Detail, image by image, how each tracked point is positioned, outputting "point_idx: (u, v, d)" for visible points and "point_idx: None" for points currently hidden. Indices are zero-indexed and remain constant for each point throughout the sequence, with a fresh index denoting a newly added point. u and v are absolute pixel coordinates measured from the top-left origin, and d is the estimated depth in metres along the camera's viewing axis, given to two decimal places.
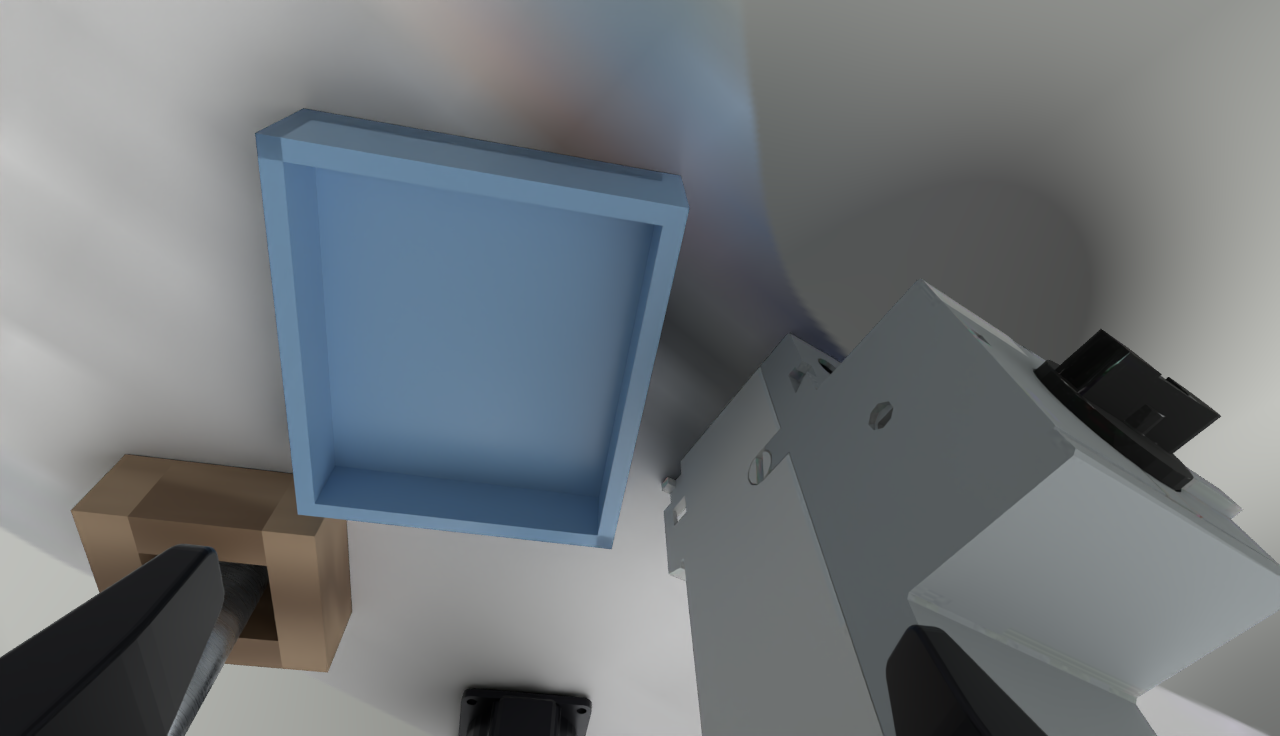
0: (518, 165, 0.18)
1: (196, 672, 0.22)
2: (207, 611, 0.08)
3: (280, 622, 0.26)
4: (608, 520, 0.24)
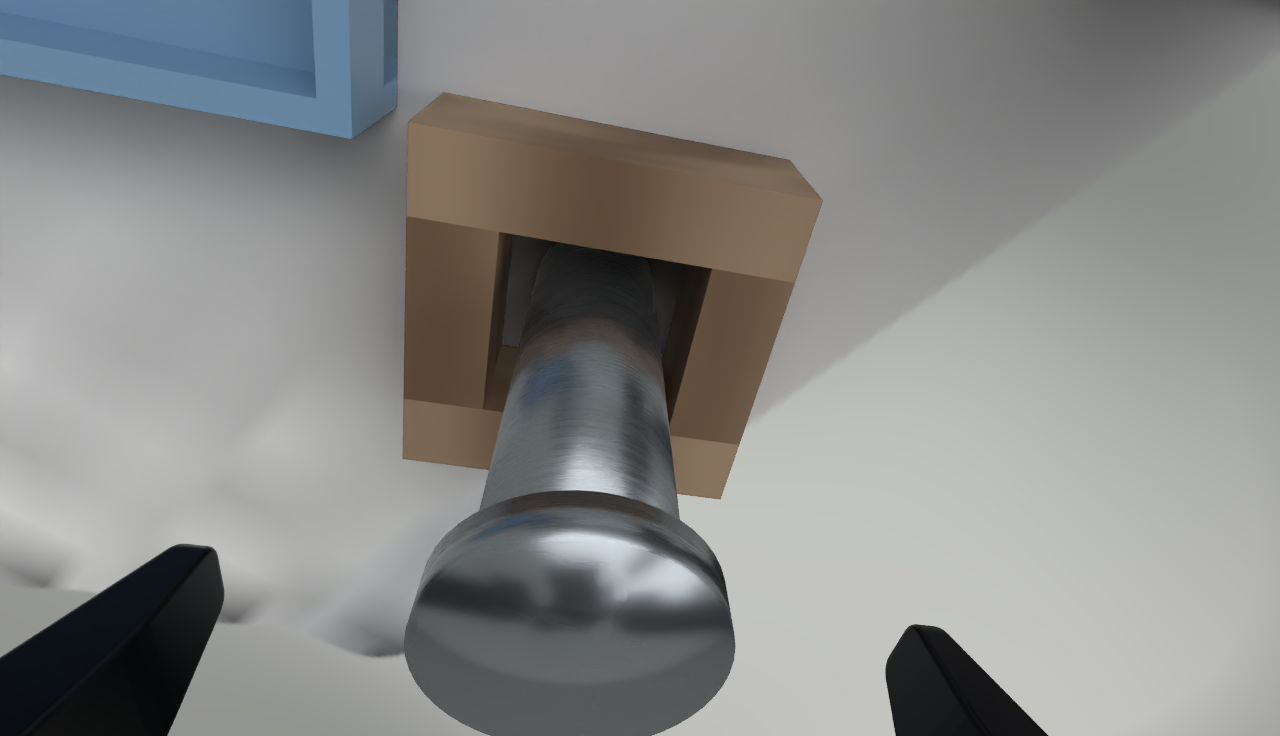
0: None
1: (549, 372, 0.11)
2: (207, 611, 0.08)
3: (659, 249, 0.14)
4: None
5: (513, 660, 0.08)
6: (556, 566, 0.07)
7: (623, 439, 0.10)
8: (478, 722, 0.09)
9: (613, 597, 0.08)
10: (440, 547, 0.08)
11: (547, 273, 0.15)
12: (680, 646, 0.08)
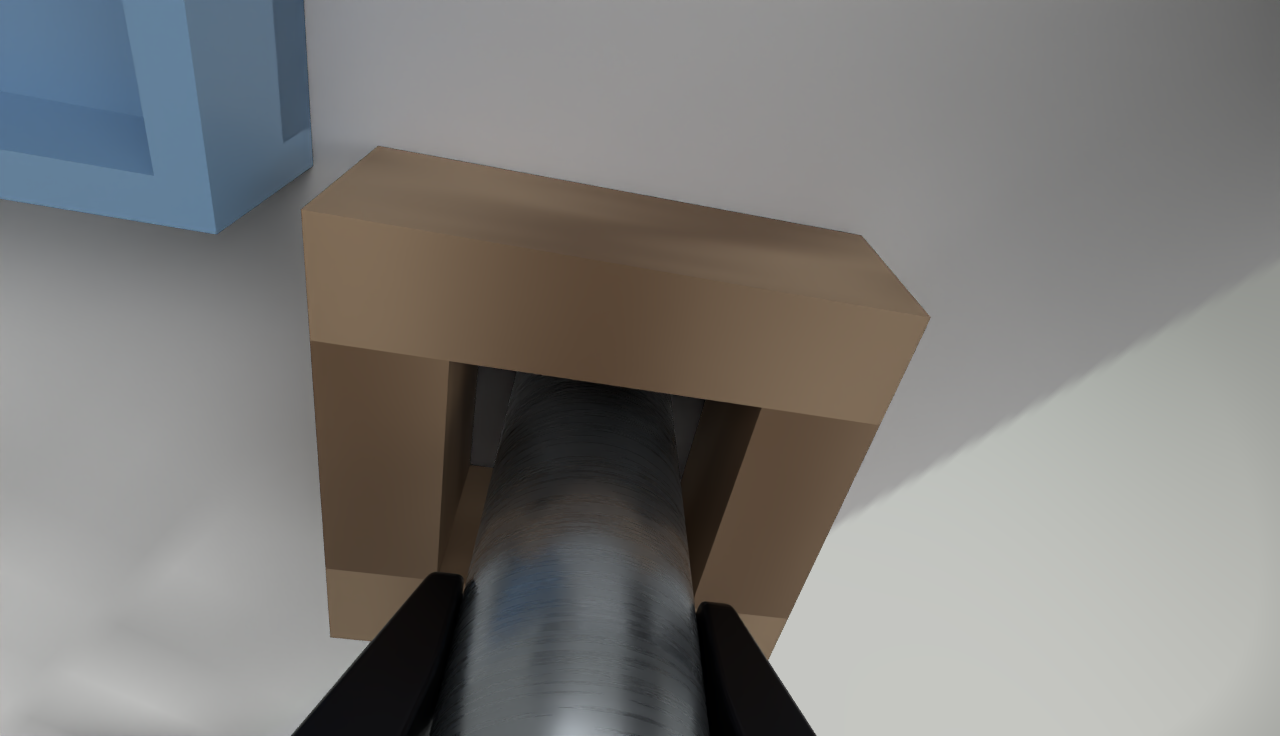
0: None
1: (513, 634, 0.07)
2: None
3: (685, 383, 0.09)
4: None
5: None
6: None
7: None
8: None
9: None
10: None
11: (525, 397, 0.11)
12: None
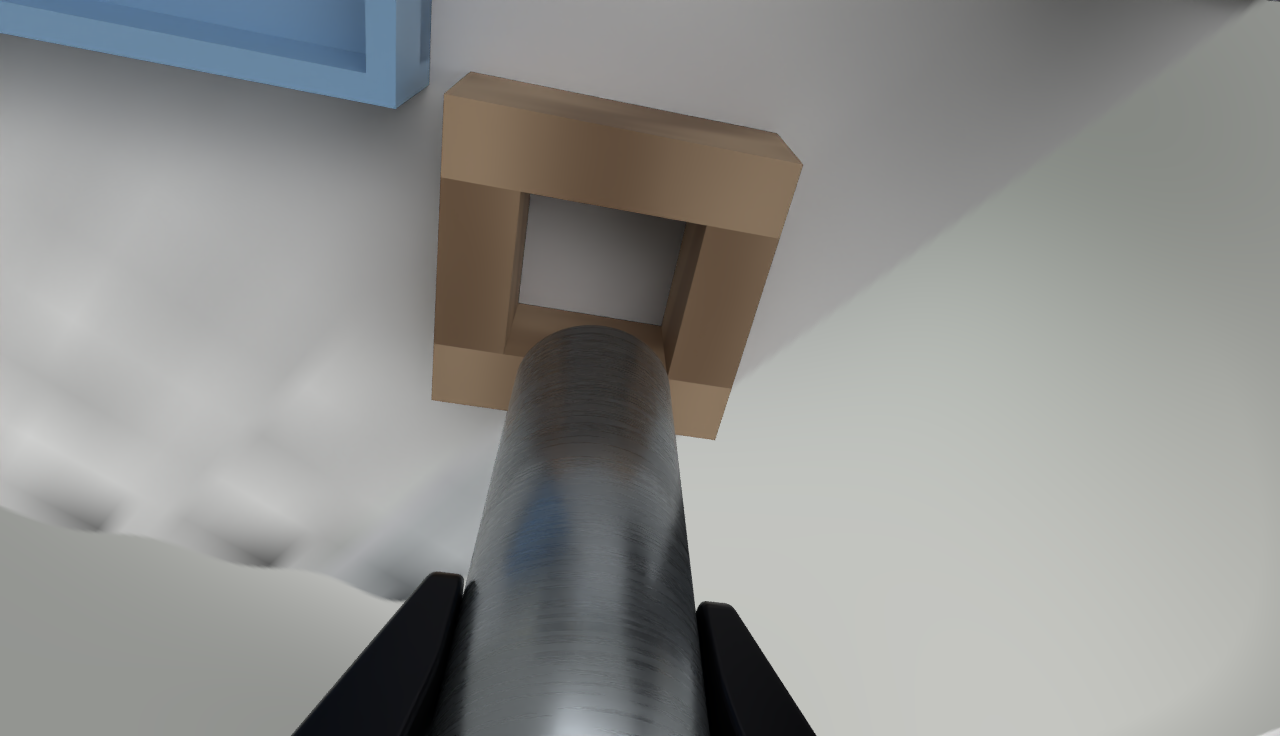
0: None
1: (514, 635, 0.07)
2: None
3: (660, 208, 0.16)
4: None
5: None
6: None
7: None
8: None
9: None
10: None
11: (525, 398, 0.11)
12: None
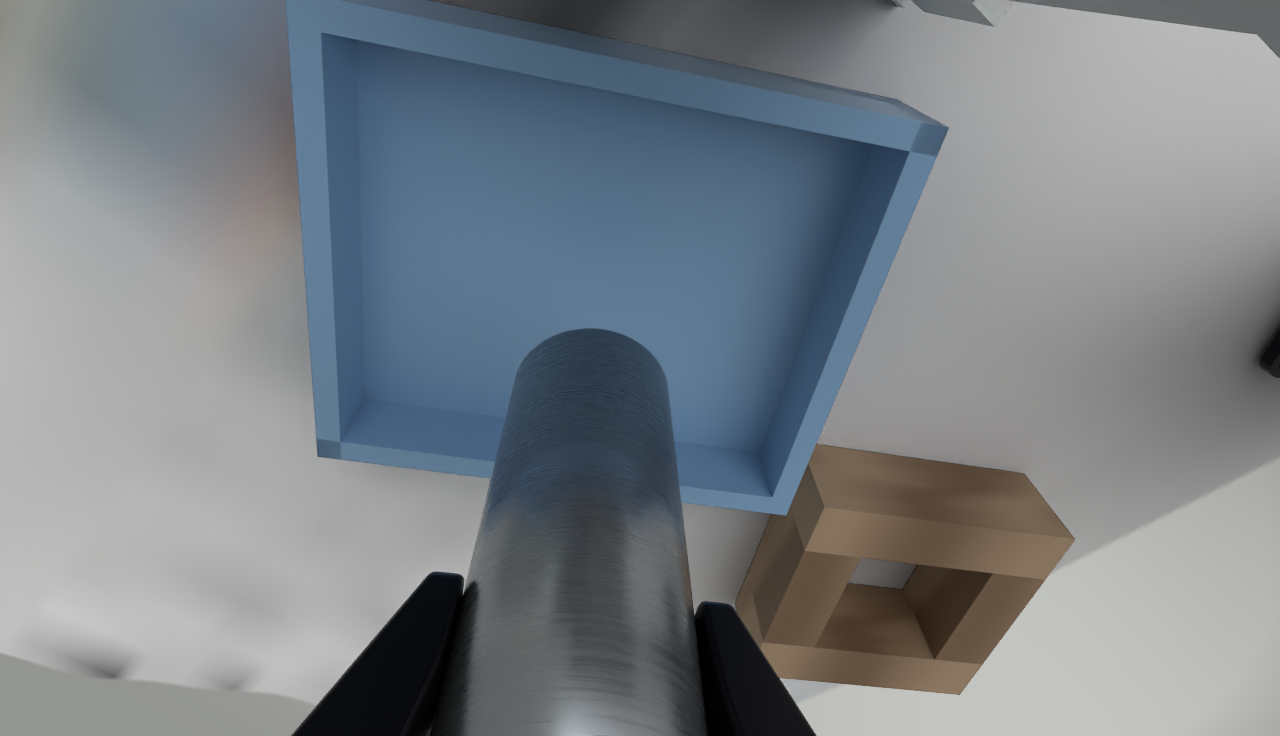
0: None
1: (513, 641, 0.07)
2: None
3: (961, 564, 0.21)
4: (878, 131, 0.14)
5: None
6: None
7: None
8: None
9: None
10: None
11: (524, 401, 0.11)
12: None
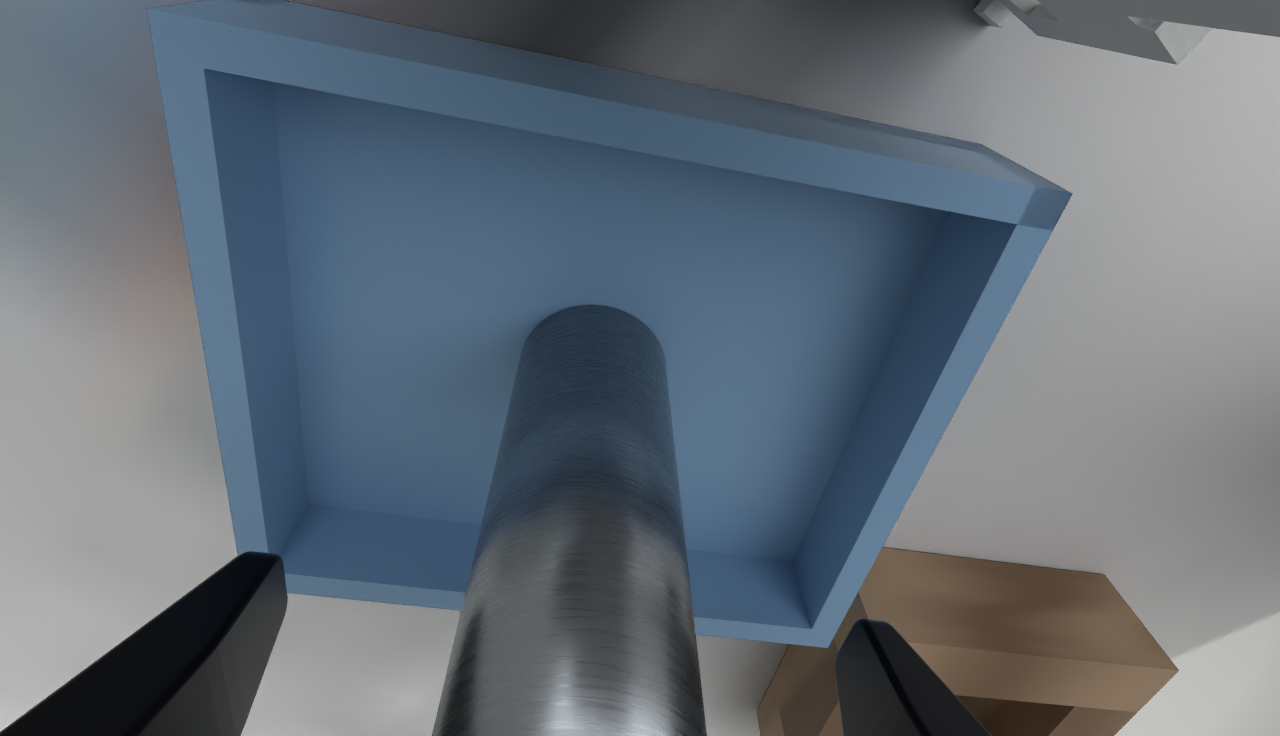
0: None
1: (524, 571, 0.08)
2: (273, 618, 0.08)
3: (1037, 697, 0.17)
4: (977, 198, 0.10)
5: None
6: None
7: (632, 722, 0.06)
8: None
9: None
10: None
11: (531, 371, 0.12)
12: None
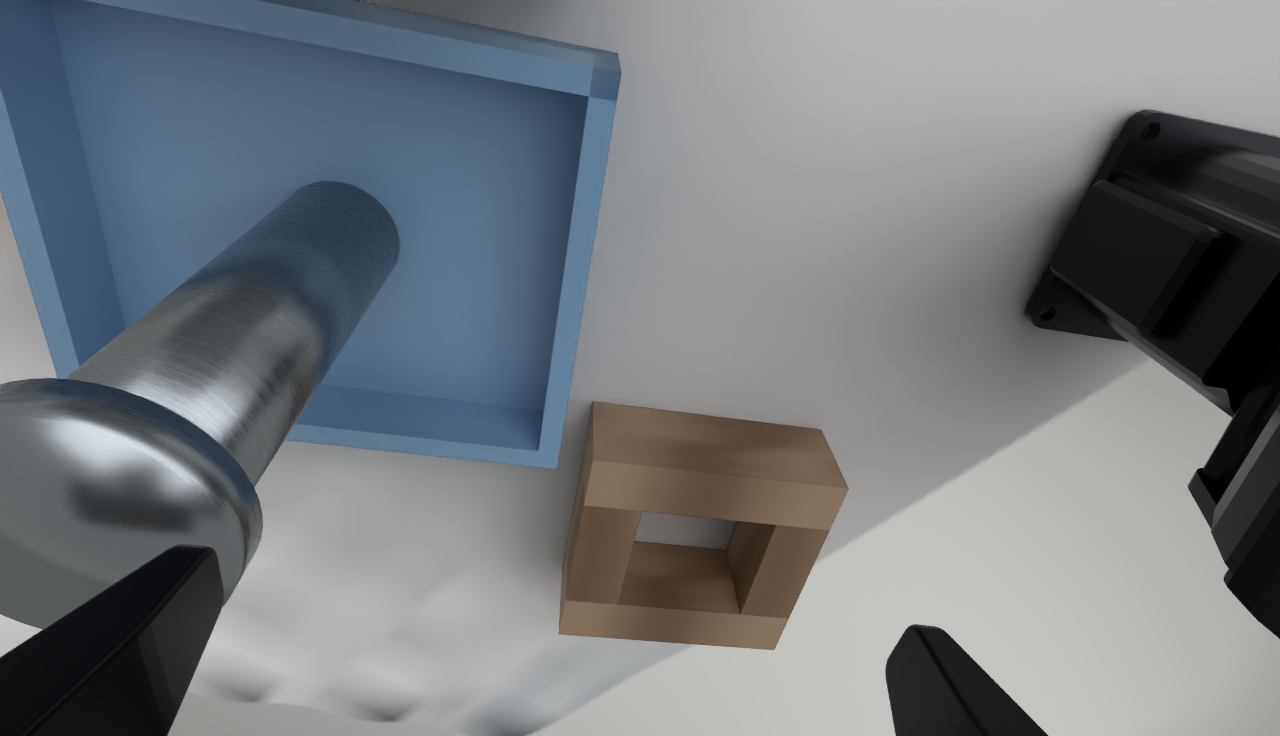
0: None
1: (170, 296, 0.12)
2: (207, 611, 0.08)
3: (742, 516, 0.21)
4: (553, 76, 0.14)
5: (14, 545, 0.09)
6: (1, 443, 0.08)
7: (192, 348, 0.10)
8: (17, 613, 0.09)
9: (76, 476, 0.08)
10: None
11: None
12: (172, 528, 0.09)
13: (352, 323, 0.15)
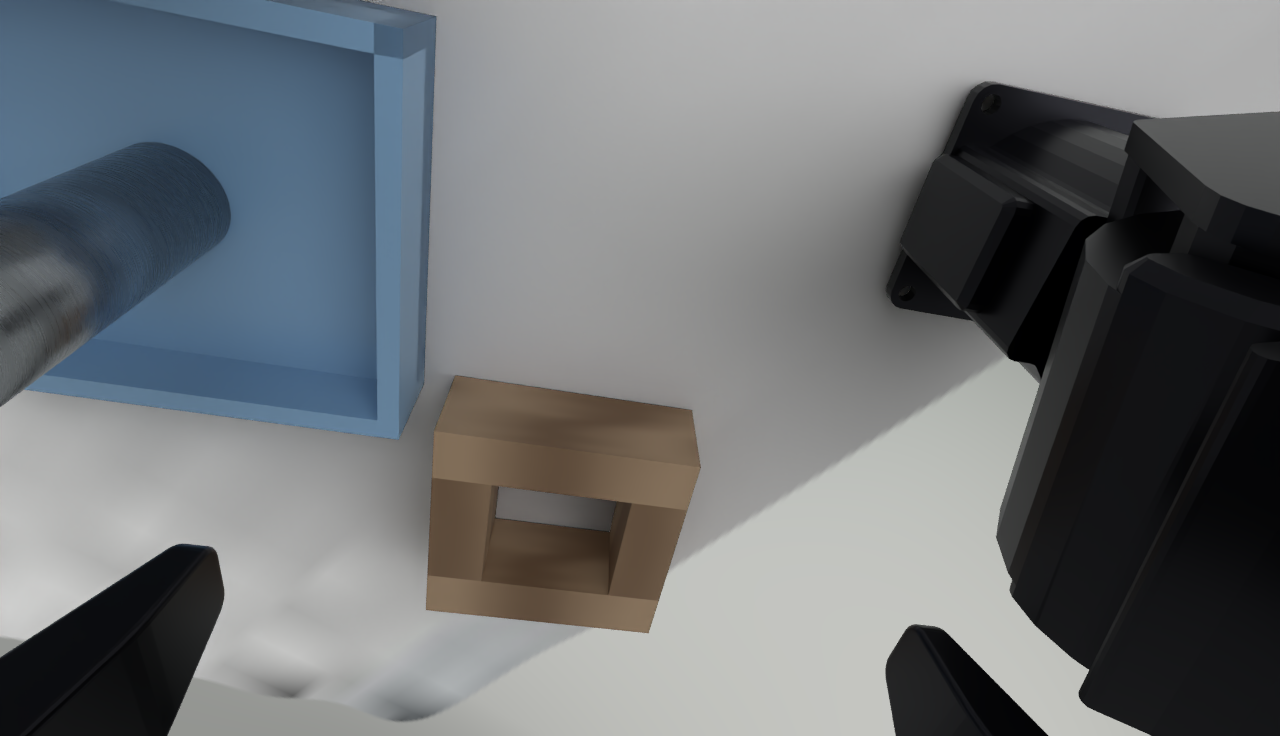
0: None
1: None
2: (207, 611, 0.08)
3: (596, 493, 0.21)
4: (334, 32, 0.14)
5: None
6: None
7: None
8: None
9: None
10: None
11: None
12: None
13: (139, 279, 0.15)
